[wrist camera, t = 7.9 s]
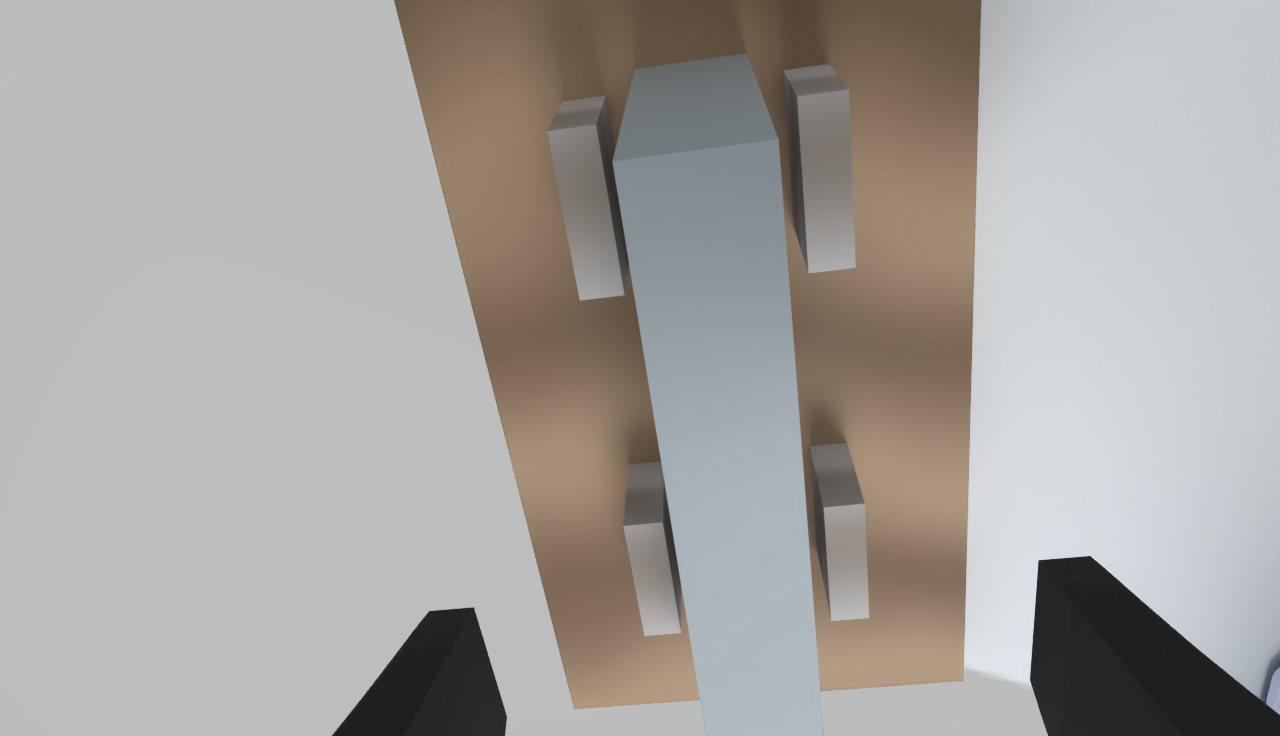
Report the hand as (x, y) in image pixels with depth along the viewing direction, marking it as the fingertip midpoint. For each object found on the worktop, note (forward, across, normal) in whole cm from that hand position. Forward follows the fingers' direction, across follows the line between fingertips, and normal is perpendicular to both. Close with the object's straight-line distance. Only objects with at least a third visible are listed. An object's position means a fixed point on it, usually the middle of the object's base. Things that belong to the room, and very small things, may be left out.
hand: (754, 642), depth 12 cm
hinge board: (+9, 0, 0) cm, 9 cm away
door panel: (+8, 0, 0) cm, 8 cm away
